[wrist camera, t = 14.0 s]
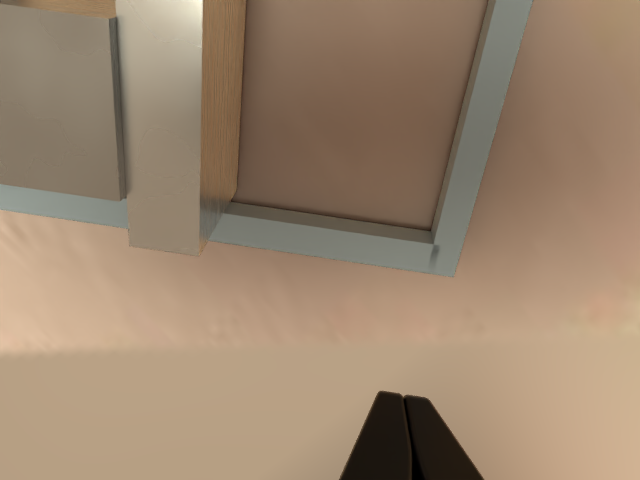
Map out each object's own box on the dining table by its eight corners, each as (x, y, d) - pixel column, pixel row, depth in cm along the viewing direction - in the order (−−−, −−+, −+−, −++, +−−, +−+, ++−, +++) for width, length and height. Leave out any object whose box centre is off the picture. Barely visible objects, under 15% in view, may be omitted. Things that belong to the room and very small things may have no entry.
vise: (548, -88, 15) (621, -104, 10) (450, 263, 20) (471, 349, 16) (-98, -176, 15) (-290, -227, 11) (-23, 192, 21) (-130, 258, 16)
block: (42, -22, 17) (-89, -10, 12) (184, -1, 17) (108, 18, 12) (58, 119, 19) (-48, 177, 14) (183, 137, 19) (119, 201, 14)
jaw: (248, -55, 16) (203, -57, 11) (236, 189, 19) (198, 256, 15) (181, -64, 16) (111, -70, 12) (182, 181, 19) (129, 246, 15)
